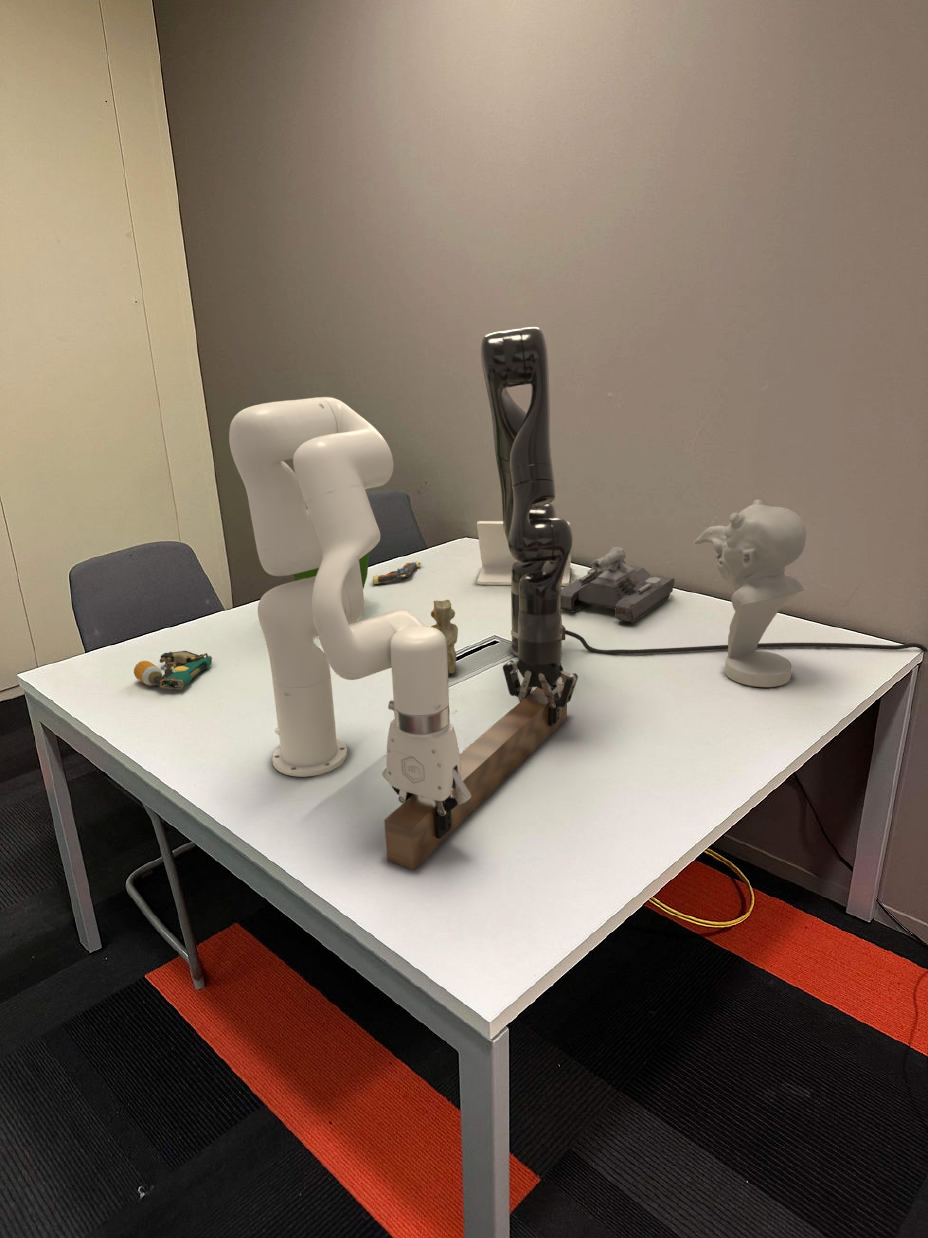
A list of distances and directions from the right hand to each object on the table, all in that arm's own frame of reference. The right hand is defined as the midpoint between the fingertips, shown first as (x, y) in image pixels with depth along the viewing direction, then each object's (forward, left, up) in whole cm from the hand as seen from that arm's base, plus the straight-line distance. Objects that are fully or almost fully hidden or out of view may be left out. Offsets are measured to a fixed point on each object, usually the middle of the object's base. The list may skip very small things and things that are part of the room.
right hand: (539, 720), depth 153 cm
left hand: (+25, +27, 0) cm, 37 cm away
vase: (+32, -72, -2) cm, 79 cm away
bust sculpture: (-47, -15, -2) cm, 49 cm away
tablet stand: (-22, -89, -2) cm, 92 cm away
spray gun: (+67, -43, -2) cm, 80 cm away
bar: (+12, +14, -2) cm, 19 cm away
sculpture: (+12, -31, -2) cm, 33 cm away
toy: (-37, -59, -2) cm, 70 cm away
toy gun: (+13, -99, -2) cm, 100 cm away
